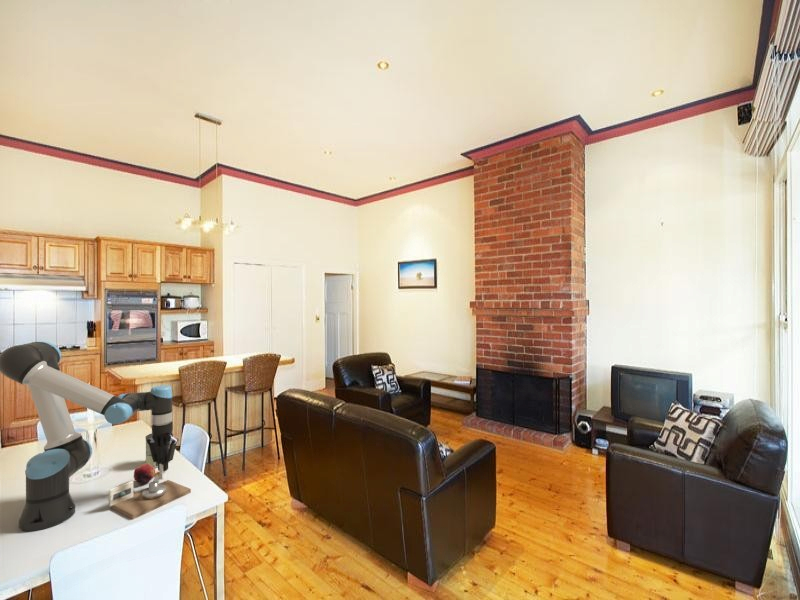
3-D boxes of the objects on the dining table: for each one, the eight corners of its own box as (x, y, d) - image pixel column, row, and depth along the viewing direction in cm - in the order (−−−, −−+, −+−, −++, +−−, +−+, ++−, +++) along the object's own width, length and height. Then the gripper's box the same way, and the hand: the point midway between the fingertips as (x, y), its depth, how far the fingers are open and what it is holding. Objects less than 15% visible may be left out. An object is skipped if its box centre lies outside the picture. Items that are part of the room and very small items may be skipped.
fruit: (156, 477, 172) (157, 460, 172) (152, 485, 164) (152, 467, 164) (136, 480, 169) (136, 462, 169) (131, 488, 162) (131, 470, 162)
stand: (130, 520, 139) (130, 500, 139) (107, 508, 146) (107, 489, 146) (190, 492, 159) (190, 474, 159) (168, 483, 167) (168, 466, 167)
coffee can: (155, 458, 192) (156, 430, 192) (175, 459, 191) (175, 431, 191) (140, 467, 181) (140, 438, 181) (160, 468, 180) (160, 439, 180)
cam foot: (164, 496, 152) (164, 483, 152) (140, 500, 149) (140, 487, 149) (169, 480, 165) (169, 468, 165) (148, 484, 162) (148, 471, 162)
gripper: (182, 420, 164) (183, 474, 165) (154, 419, 166) (155, 473, 166) (170, 426, 157) (171, 482, 157) (141, 425, 158) (142, 481, 159)
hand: (163, 477), depth 162 cm, fingers closed
